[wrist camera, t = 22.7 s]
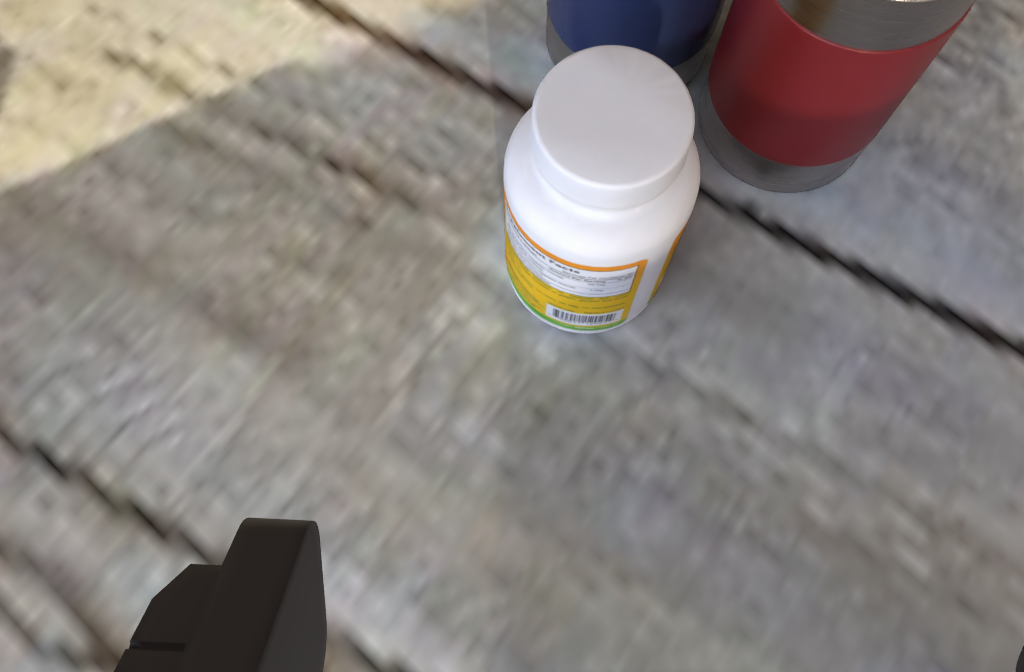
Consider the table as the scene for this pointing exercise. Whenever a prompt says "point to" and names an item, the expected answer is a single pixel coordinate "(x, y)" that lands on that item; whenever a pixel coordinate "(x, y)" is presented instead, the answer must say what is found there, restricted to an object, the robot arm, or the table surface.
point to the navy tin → (635, 28)
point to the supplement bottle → (599, 187)
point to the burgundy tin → (814, 82)
